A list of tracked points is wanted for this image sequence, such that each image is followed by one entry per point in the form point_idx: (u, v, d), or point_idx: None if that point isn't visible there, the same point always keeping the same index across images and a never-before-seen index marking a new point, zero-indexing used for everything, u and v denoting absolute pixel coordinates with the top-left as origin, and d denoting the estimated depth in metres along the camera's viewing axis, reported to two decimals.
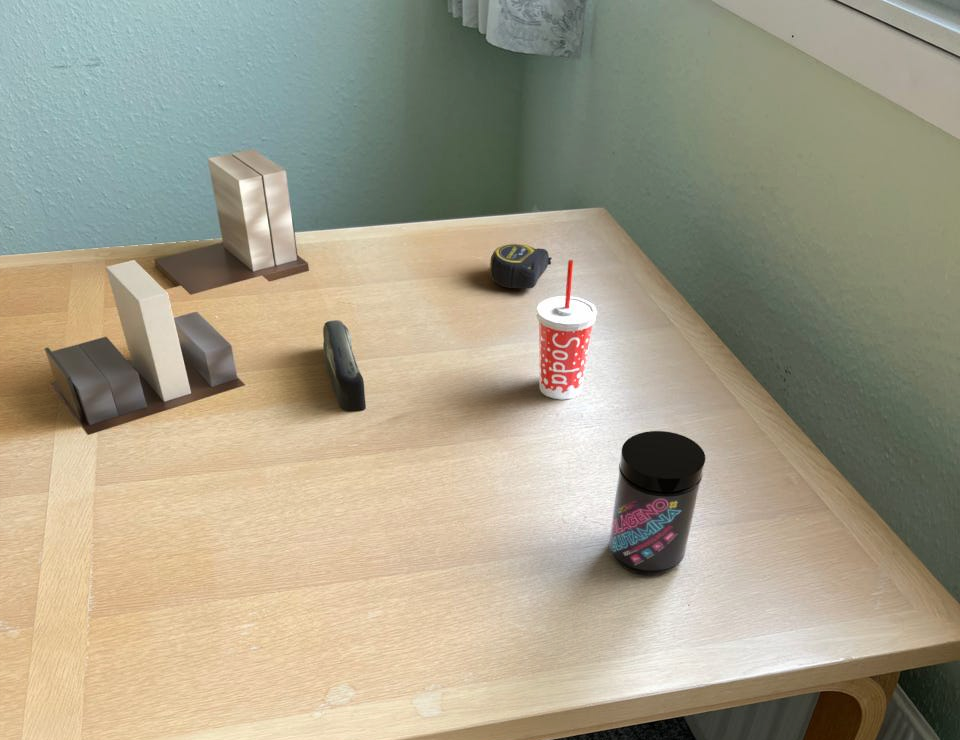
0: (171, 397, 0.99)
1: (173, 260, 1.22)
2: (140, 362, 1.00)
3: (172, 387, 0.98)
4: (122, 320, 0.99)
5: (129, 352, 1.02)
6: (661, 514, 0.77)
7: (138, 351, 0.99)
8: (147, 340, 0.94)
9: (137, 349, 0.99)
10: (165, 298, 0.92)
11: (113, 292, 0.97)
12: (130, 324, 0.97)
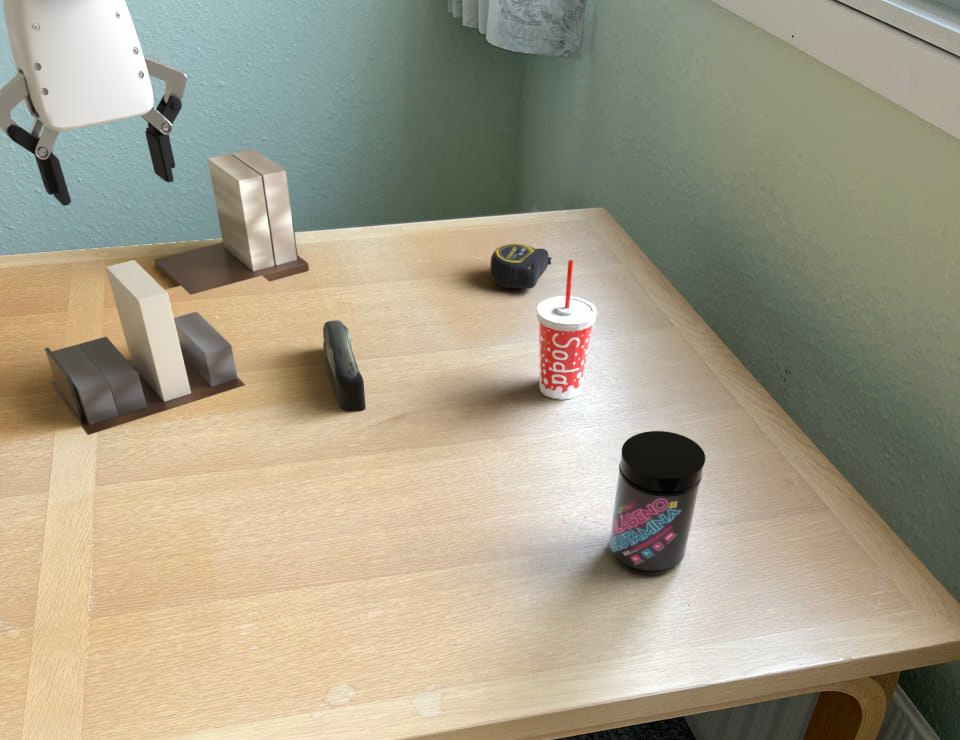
0: (171, 397, 0.99)
1: (173, 260, 1.22)
2: (140, 362, 1.00)
3: (172, 387, 0.98)
4: (122, 320, 0.99)
5: (129, 352, 1.02)
6: (661, 514, 0.77)
7: (138, 351, 0.99)
8: (147, 340, 0.94)
9: (137, 349, 0.99)
10: (165, 298, 0.92)
11: (113, 292, 0.97)
12: (130, 324, 0.97)
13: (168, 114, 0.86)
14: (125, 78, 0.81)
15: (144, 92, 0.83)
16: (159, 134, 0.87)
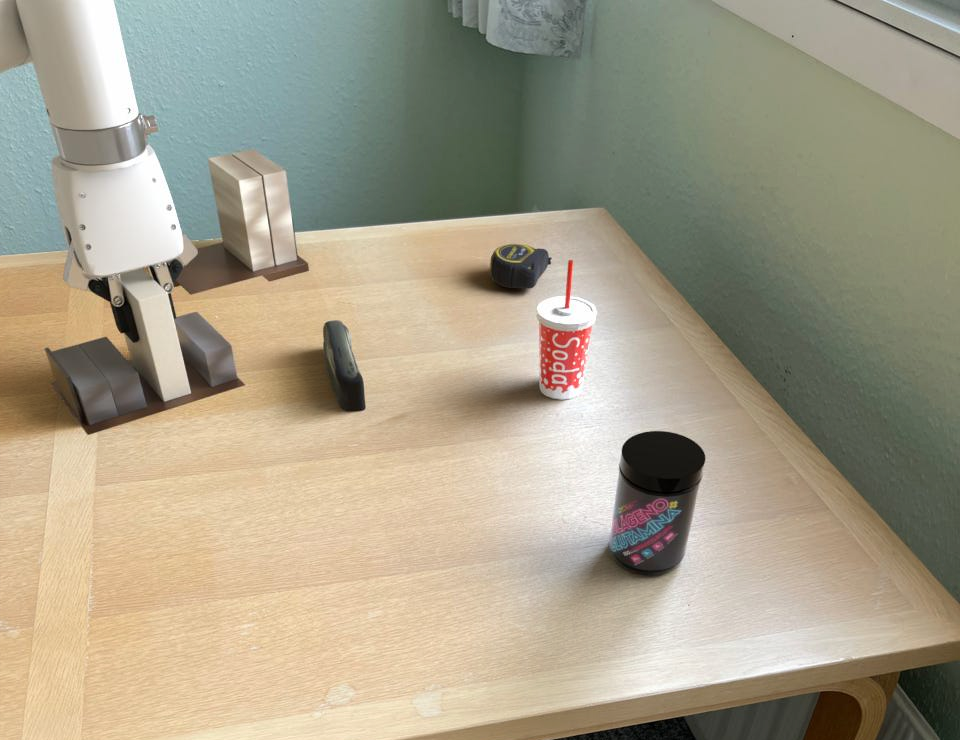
0: (171, 397, 0.99)
1: None
2: (140, 362, 1.00)
3: (172, 387, 0.98)
4: None
5: (129, 352, 1.02)
6: (661, 514, 0.77)
7: (138, 351, 0.99)
8: (147, 340, 0.94)
9: (137, 349, 0.99)
10: (165, 298, 0.92)
11: None
12: None
13: (170, 276, 0.95)
14: (159, 231, 0.90)
15: (175, 241, 0.92)
16: None
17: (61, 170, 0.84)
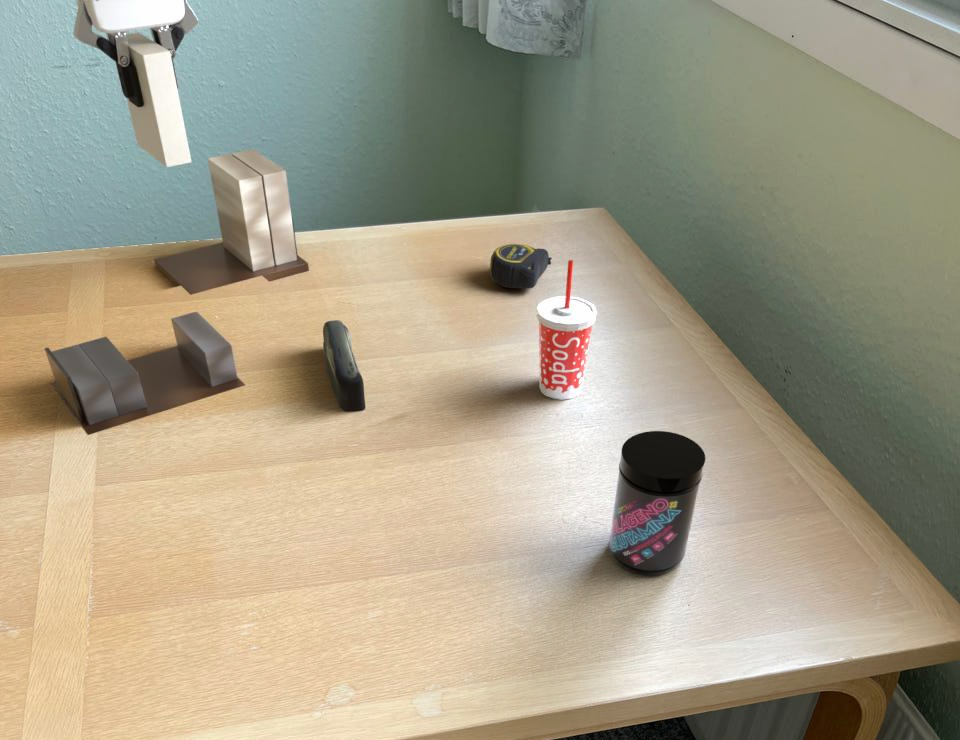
0: (173, 163, 1.06)
1: (173, 260, 1.22)
2: (144, 134, 1.08)
3: (174, 153, 1.06)
4: None
5: (134, 129, 1.10)
6: (661, 514, 0.77)
7: (142, 121, 1.06)
8: (151, 99, 1.01)
9: (141, 119, 1.06)
10: (167, 56, 1.00)
11: None
12: None
13: (172, 42, 1.02)
14: None
15: (177, 3, 0.99)
16: None
17: None
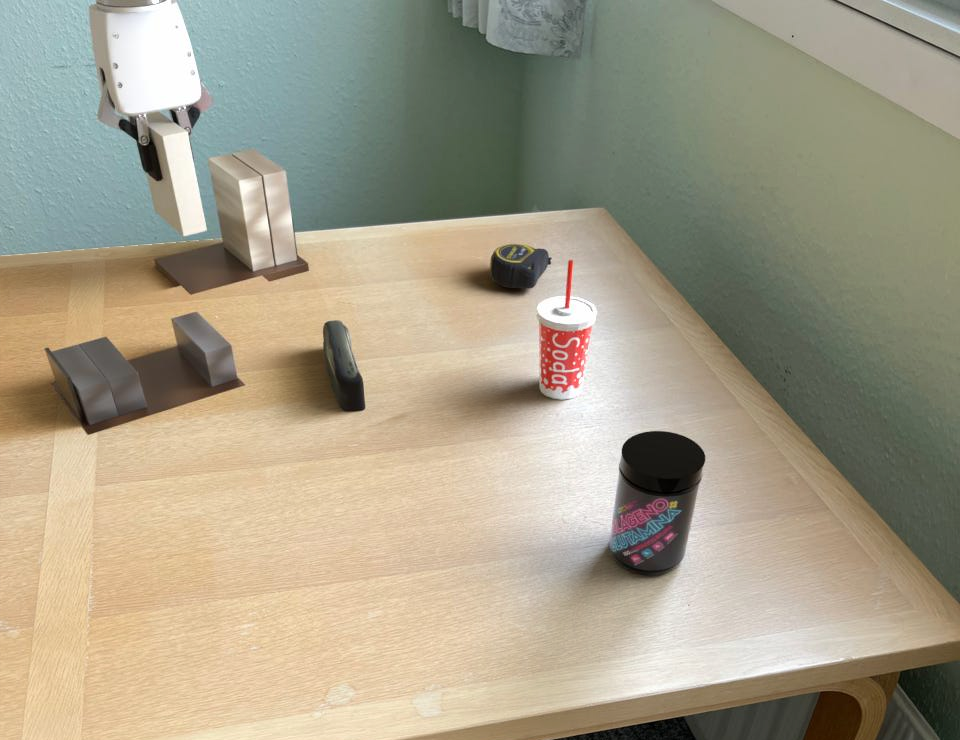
0: (190, 232, 1.13)
1: (173, 260, 1.22)
2: (162, 204, 1.14)
3: (190, 223, 1.12)
4: None
5: (152, 198, 1.16)
6: (661, 514, 0.77)
7: (160, 192, 1.13)
8: (169, 175, 1.08)
9: (160, 191, 1.13)
10: (185, 136, 1.06)
11: None
12: None
13: (189, 121, 1.09)
14: (180, 75, 1.04)
15: (194, 86, 1.06)
16: None
17: (98, 13, 0.98)
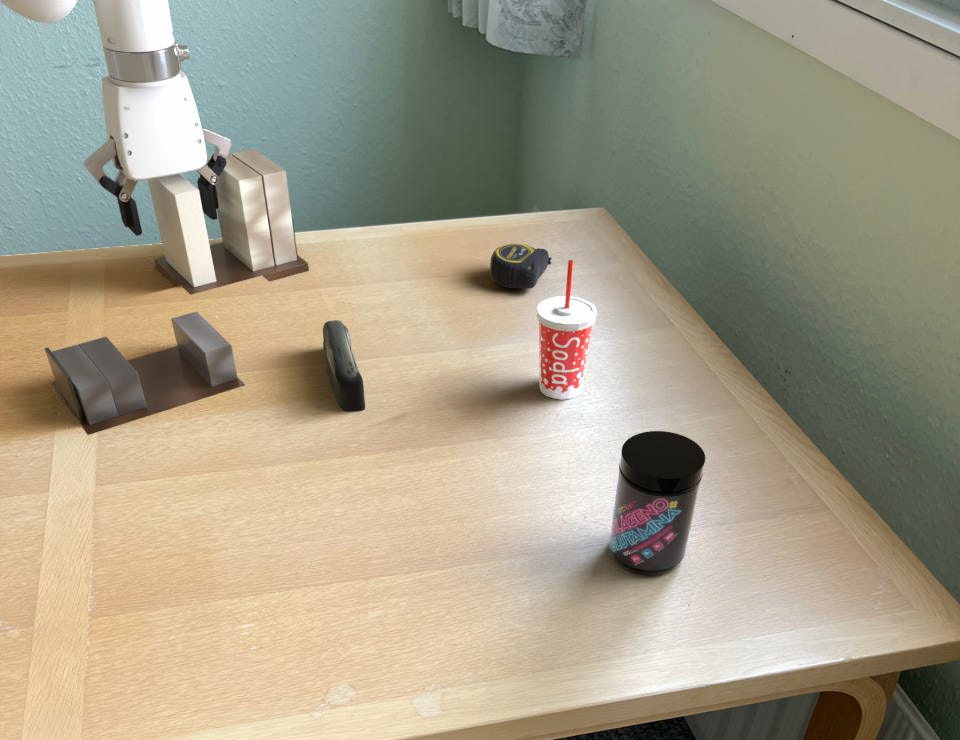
0: (200, 283, 1.17)
1: None
2: (173, 255, 1.19)
3: (200, 274, 1.17)
4: (158, 219, 1.18)
5: (163, 249, 1.21)
6: (661, 514, 0.77)
7: (172, 245, 1.17)
8: (181, 231, 1.12)
9: (171, 243, 1.17)
10: (196, 194, 1.11)
11: (151, 194, 1.16)
12: (166, 220, 1.15)
13: (216, 169, 1.14)
14: (187, 143, 1.09)
15: (200, 153, 1.11)
16: (208, 183, 1.14)
17: (110, 86, 1.02)
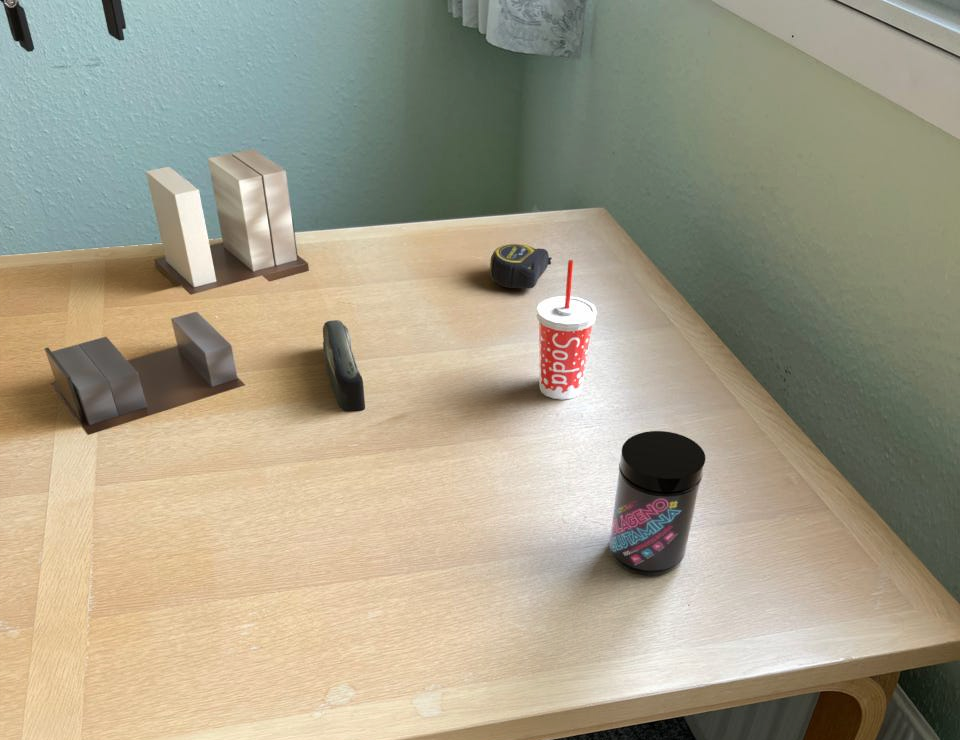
0: (200, 283, 1.17)
1: None
2: (173, 255, 1.19)
3: (200, 274, 1.17)
4: (158, 219, 1.18)
5: (163, 249, 1.21)
6: (661, 514, 0.77)
7: (172, 245, 1.17)
8: (181, 231, 1.12)
9: (171, 243, 1.17)
10: (196, 194, 1.11)
11: (151, 194, 1.16)
12: (166, 220, 1.15)
13: None
14: None
15: None
16: None
17: None
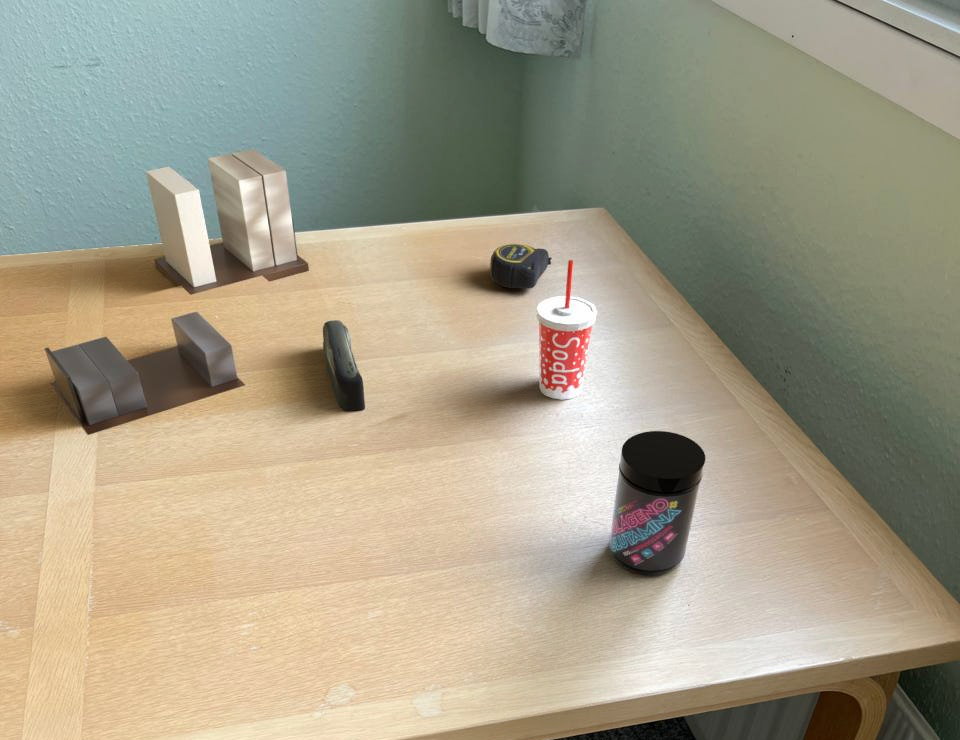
0: (200, 283, 1.17)
1: None
2: (173, 255, 1.19)
3: (200, 274, 1.17)
4: (158, 219, 1.18)
5: (163, 249, 1.21)
6: (661, 514, 0.77)
7: (172, 245, 1.17)
8: (181, 231, 1.12)
9: (171, 243, 1.17)
10: (196, 194, 1.11)
11: (151, 194, 1.16)
12: (166, 220, 1.15)
13: None
14: None
15: None
16: None
17: None
